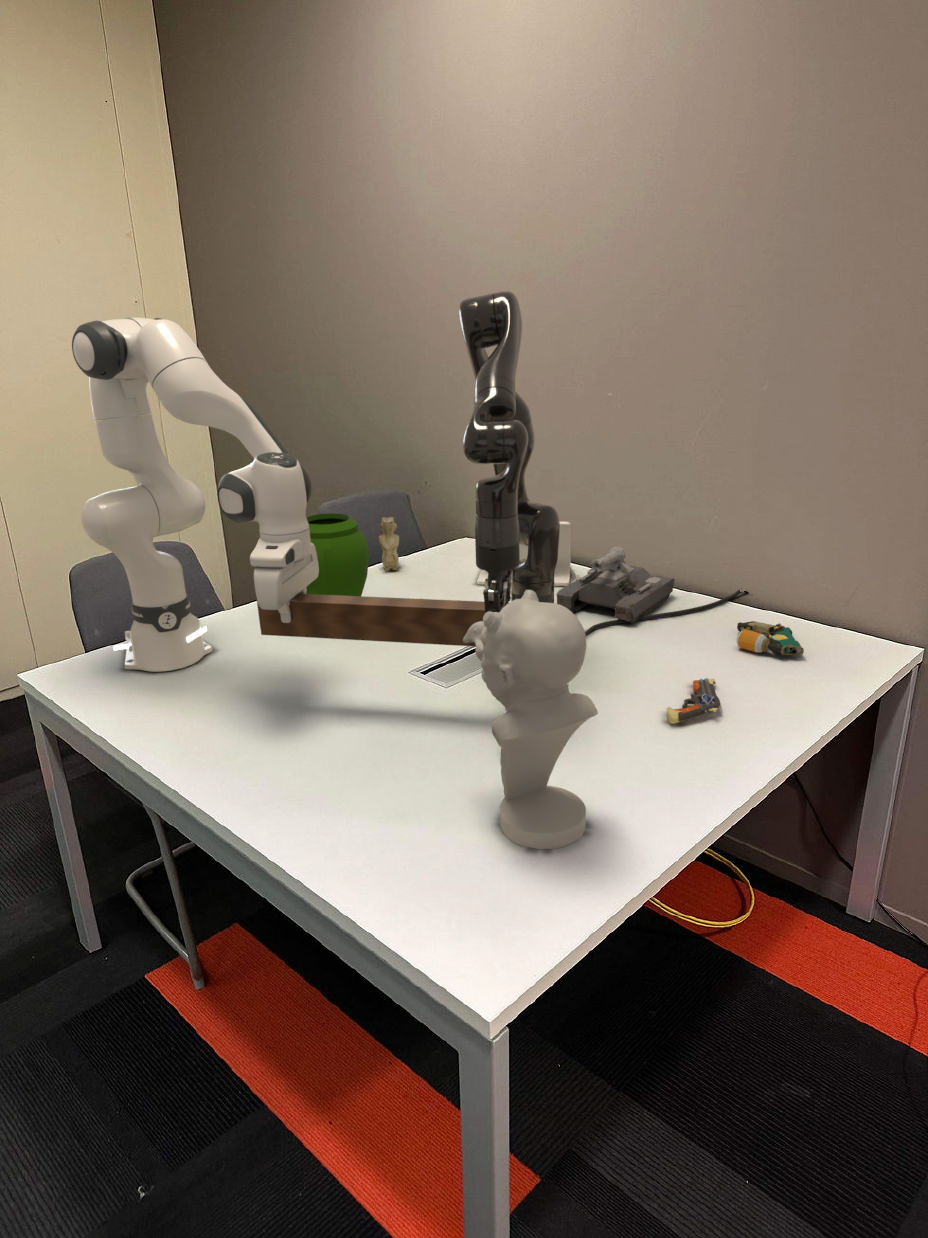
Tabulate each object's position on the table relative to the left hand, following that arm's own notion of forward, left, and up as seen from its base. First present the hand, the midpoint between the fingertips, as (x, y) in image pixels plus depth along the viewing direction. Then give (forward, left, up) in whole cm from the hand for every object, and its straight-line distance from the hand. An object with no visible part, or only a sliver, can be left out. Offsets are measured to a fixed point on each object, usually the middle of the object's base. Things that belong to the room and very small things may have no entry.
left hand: (293, 616), depth 159 cm
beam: (+13, +14, -3) cm, 20 cm away
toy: (-12, +87, -19) cm, 89 cm away
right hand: (+26, +29, -1) cm, 39 cm away
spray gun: (+27, +98, -19) cm, 103 cm away
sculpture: (-72, +52, -19) cm, 91 cm away
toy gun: (+40, +63, -19) cm, 77 cm away
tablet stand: (-45, +81, -19) cm, 95 cm away
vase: (-45, +24, -19) cm, 55 cm away
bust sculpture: (+54, +16, -19) cm, 59 cm away
